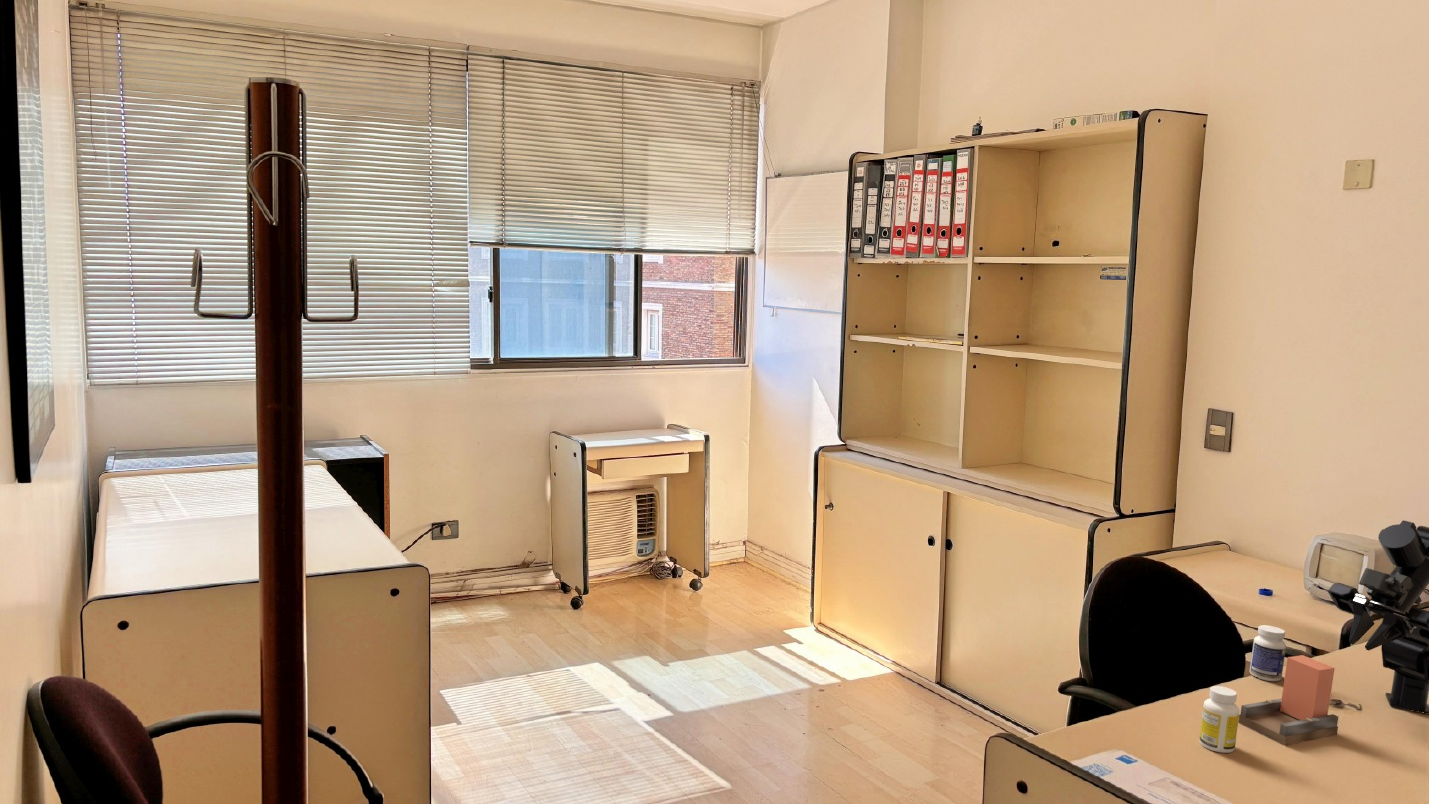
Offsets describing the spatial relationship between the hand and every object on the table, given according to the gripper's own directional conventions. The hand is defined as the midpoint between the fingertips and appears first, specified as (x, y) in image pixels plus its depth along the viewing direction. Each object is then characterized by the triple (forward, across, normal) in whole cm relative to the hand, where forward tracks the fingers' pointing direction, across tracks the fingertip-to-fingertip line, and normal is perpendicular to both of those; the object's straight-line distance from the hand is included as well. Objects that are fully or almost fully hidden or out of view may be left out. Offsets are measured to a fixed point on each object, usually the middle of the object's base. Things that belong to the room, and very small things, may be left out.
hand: (1358, 645), depth 183 cm
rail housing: (+21, 0, -2) cm, 21 cm away
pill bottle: (+8, -18, +11) cm, 23 cm away
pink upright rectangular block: (+17, 0, -1) cm, 17 cm away
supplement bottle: (+35, +1, -15) cm, 38 cm away
